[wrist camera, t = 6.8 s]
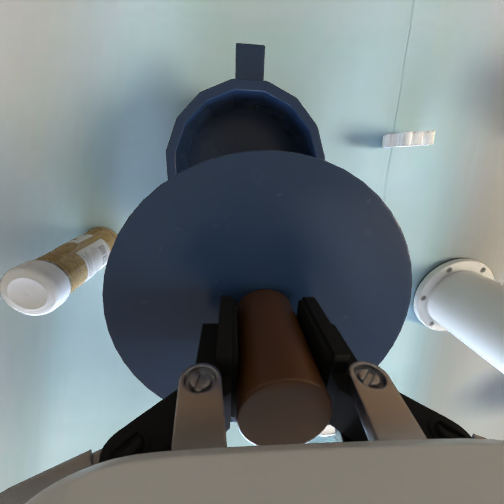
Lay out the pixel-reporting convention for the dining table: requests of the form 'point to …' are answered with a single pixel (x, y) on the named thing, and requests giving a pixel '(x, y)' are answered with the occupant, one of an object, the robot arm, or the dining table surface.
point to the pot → (241, 118)
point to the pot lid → (257, 280)
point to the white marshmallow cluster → (408, 139)
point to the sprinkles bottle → (56, 273)
